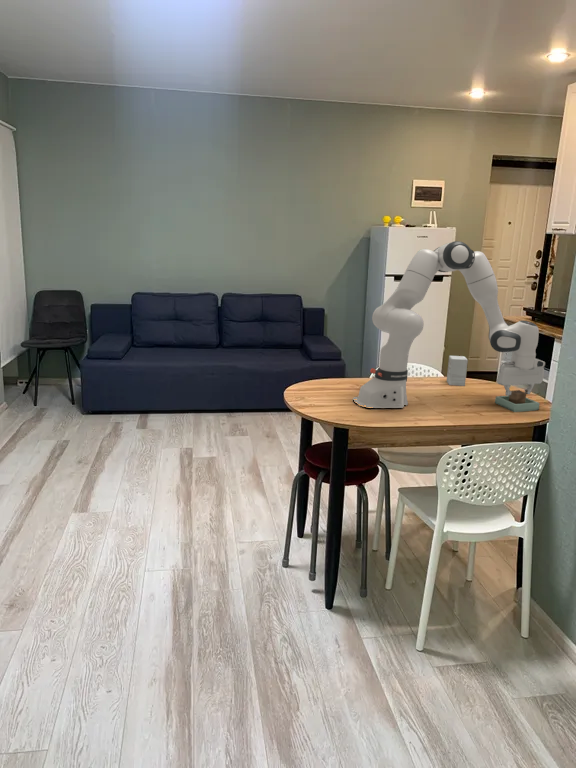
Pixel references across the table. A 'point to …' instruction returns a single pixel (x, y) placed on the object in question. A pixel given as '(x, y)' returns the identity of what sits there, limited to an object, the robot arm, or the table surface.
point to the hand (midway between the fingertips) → (517, 394)
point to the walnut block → (517, 397)
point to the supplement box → (457, 370)
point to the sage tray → (526, 406)
